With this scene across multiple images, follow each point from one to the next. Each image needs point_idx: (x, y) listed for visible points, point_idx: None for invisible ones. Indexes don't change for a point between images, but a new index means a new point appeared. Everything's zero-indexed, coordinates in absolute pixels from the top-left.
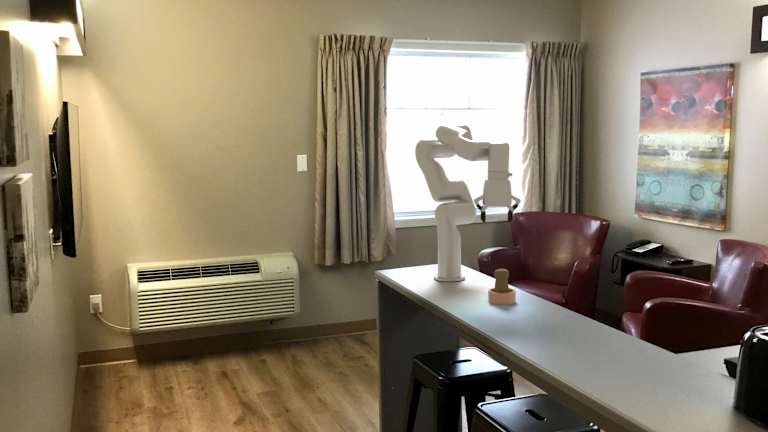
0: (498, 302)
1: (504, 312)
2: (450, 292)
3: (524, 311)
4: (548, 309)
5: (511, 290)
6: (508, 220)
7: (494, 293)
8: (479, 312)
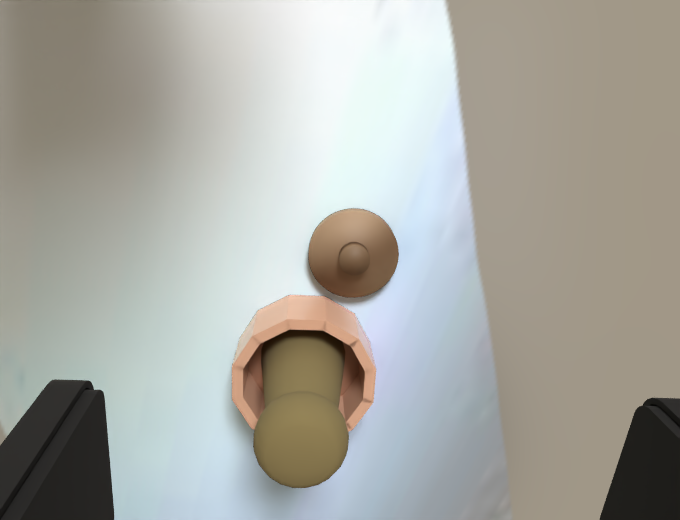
0: None
1: (263, 516)
2: (56, 109)
3: (348, 513)
4: (455, 500)
5: (362, 364)
6: (630, 485)
7: (250, 424)
8: (158, 503)
